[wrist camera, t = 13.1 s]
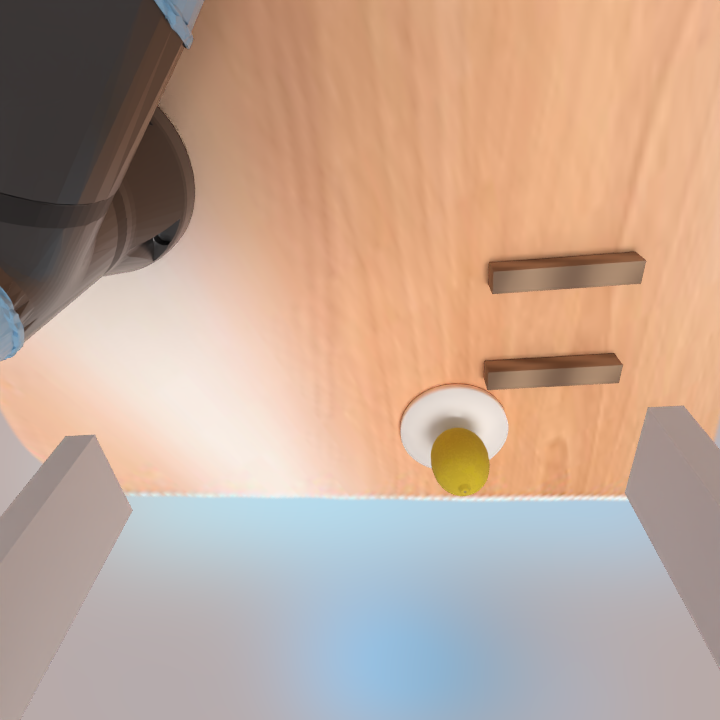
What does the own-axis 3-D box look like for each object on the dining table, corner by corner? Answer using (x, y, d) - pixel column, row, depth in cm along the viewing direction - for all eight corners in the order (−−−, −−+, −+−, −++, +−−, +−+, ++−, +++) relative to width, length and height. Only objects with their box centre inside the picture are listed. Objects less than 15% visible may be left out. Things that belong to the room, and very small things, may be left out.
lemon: (417, 428, 51) (422, 487, 45) (462, 403, 49) (475, 460, 43) (447, 459, 54) (456, 520, 47) (492, 436, 52) (508, 496, 45)
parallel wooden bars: (483, 378, 49) (487, 390, 47) (489, 262, 42) (493, 271, 41) (610, 371, 48) (618, 383, 46) (635, 251, 41) (646, 260, 40)
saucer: (403, 466, 56) (403, 473, 55) (397, 387, 50) (397, 392, 49) (503, 462, 55) (505, 469, 54) (509, 380, 49) (511, 386, 48)
